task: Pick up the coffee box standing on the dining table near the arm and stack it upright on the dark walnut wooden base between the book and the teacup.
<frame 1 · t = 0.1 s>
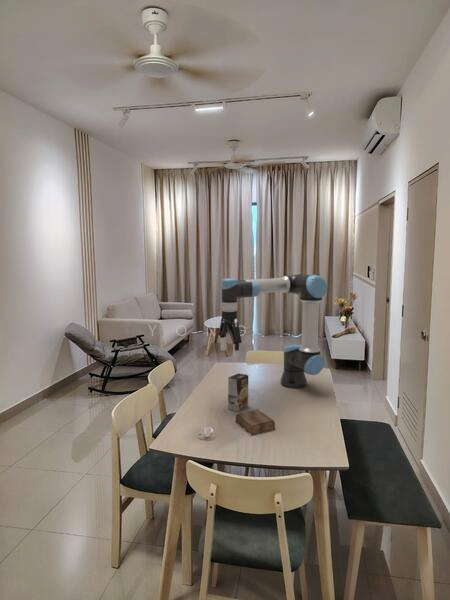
hand: (229, 353, 187), 28 cm above the table, tool pointing down, fingers open, 13 cm apart
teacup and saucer: (214, 436, 163), on the table
coffee box: (238, 407, 191), on the table
walnut base: (254, 425, 171), on the table
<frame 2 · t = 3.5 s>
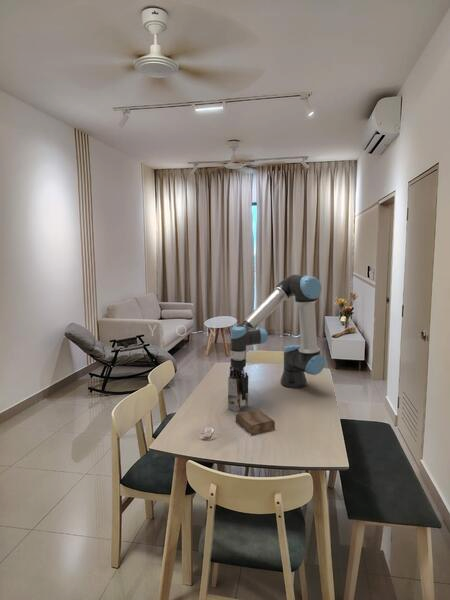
hand: (238, 402, 191), 3 cm above the table, tool pointing down, fingers closed on coffee box, 8 cm apart
coffee box: (238, 407, 191), on the table, touching gripper
everything else where it was.
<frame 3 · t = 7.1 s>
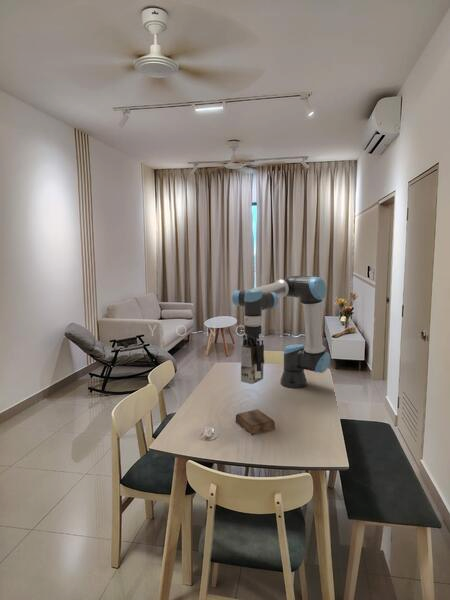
hand: (252, 374, 170), 23 cm above the table, tool pointing down, fingers closed on coffee box, 8 cm apart
coffee box: (252, 380, 171), point 20 cm above the table, touching gripper
everything else where it was.
when the fingers open (8 cm above the table, at t = 10.9 s): coffee box drops 1 cm, resting on walnut base.
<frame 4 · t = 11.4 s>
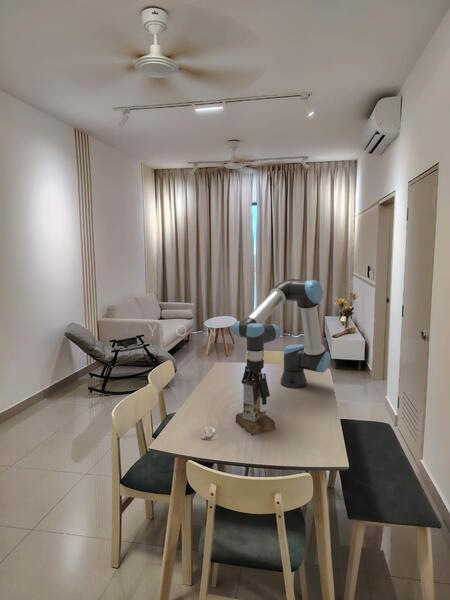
hand: (254, 405, 170), 9 cm above the table, tool pointing down, fingers open, 13 cm apart
coffee box: (254, 417, 171), point 4 cm above the table, touching walnut base
everything else where it was.
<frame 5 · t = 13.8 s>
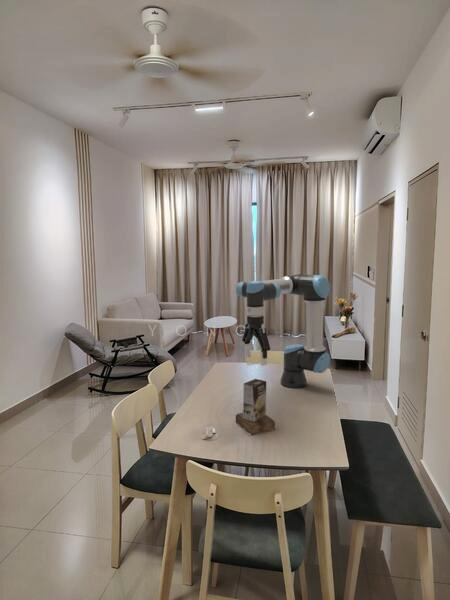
hand: (255, 361, 175), 28 cm above the table, tool pointing down, fingers open, 13 cm apart
nothing on the table moved.
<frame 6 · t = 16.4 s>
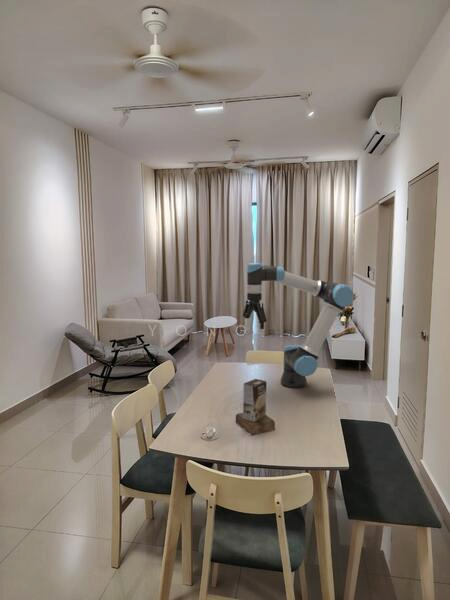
hand: (254, 332, 202), 35 cm above the table, tool pointing down, fingers open, 13 cm apart
at the end: coffee box inside the target area on the walnut base (0.0 cm from its centre), point 3.8 cm above the walnut base's base; coffee box tilted 0°; the gripper is holding nothing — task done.
